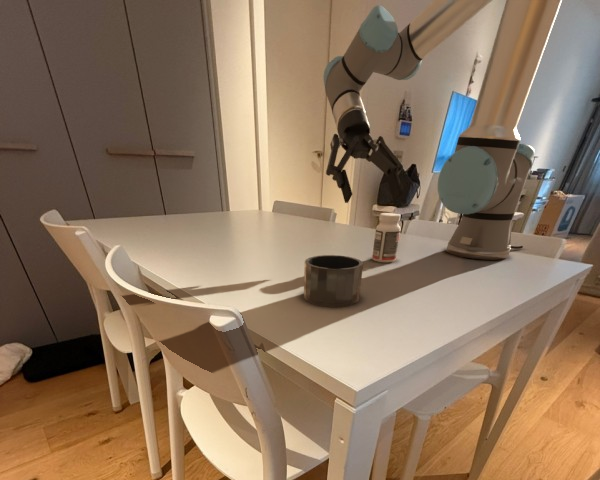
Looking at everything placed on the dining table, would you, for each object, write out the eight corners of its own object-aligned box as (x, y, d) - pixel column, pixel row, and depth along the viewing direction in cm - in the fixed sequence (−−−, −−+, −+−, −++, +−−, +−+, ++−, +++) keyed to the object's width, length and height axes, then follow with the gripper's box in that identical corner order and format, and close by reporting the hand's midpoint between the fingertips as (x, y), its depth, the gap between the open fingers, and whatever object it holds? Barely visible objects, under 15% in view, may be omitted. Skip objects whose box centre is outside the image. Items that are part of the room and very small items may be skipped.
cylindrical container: (349, 288, 64) (352, 254, 60) (366, 305, 56) (371, 268, 52) (299, 290, 62) (300, 255, 59) (310, 308, 54) (311, 270, 51)
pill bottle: (397, 259, 83) (405, 213, 77) (392, 264, 79) (400, 216, 73) (375, 256, 85) (381, 212, 79) (369, 261, 81) (375, 214, 75)
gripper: (386, 138, 91) (408, 208, 88) (300, 134, 83) (321, 210, 81) (401, 110, 84) (425, 185, 81) (309, 103, 76) (332, 186, 74)
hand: (373, 198), depth 81 cm, fingers open, 13 cm apart
